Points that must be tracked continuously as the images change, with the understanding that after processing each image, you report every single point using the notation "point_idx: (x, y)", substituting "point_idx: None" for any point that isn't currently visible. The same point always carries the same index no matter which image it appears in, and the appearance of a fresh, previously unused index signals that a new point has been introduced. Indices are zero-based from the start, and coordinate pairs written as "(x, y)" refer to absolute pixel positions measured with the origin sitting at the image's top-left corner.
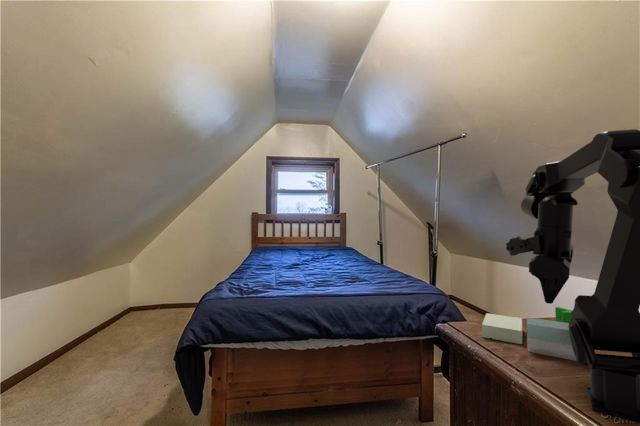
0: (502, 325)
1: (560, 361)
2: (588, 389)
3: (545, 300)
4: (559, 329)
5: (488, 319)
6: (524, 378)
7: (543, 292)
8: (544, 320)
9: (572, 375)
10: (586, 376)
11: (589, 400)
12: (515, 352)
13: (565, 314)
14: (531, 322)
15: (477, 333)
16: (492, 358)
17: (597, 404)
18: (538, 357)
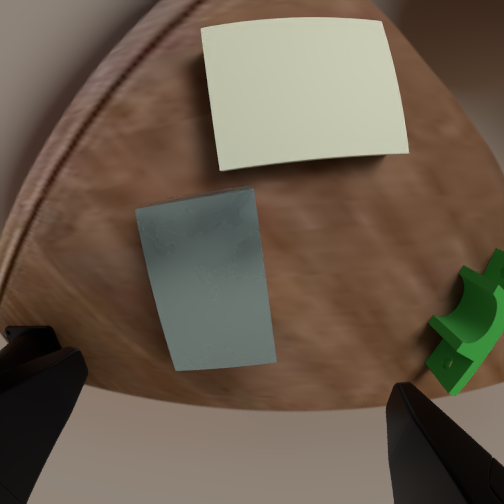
0: (244, 91)
1: None
2: (42, 331)
3: (56, 353)
4: (163, 326)
5: (294, 32)
6: (16, 225)
7: (6, 373)
8: (249, 270)
9: (94, 309)
10: (112, 333)
11: (16, 327)
12: (135, 168)
13: (490, 295)
14: (169, 223)
15: None
16: (58, 134)
17: (13, 335)
18: None
